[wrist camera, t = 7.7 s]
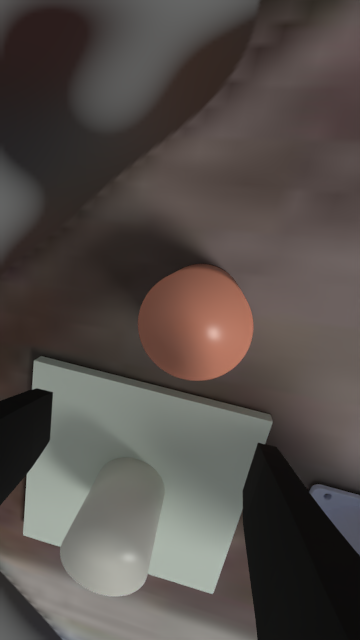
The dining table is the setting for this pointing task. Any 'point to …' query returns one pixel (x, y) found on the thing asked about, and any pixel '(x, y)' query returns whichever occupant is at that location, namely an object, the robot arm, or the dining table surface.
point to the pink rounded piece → (196, 323)
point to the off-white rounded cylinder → (115, 529)
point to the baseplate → (152, 448)
